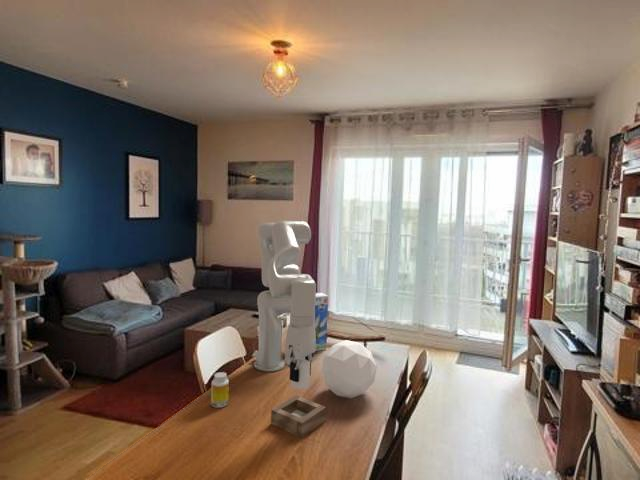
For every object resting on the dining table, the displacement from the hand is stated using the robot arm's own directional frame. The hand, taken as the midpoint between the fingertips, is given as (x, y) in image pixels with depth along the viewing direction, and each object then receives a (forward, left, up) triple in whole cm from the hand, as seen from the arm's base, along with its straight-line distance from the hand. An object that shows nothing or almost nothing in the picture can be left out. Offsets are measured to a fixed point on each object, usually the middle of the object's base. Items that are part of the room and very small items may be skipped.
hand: (300, 377), depth 122 cm
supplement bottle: (-27, -8, -15) cm, 32 cm away
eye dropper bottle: (0, 0, -3) cm, 3 cm away
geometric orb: (+2, +26, -15) cm, 30 cm away
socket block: (0, 0, -15) cm, 15 cm away
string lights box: (-35, +53, -15) cm, 65 cm away
